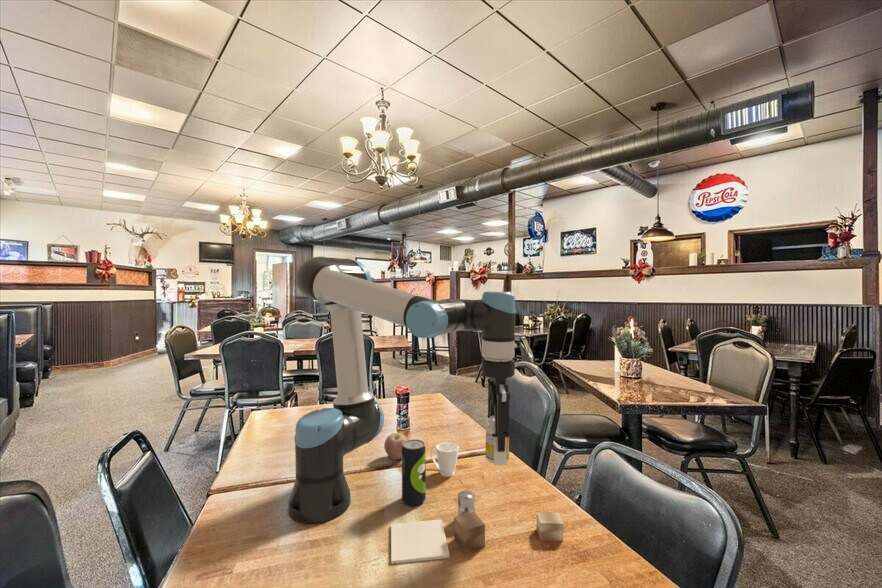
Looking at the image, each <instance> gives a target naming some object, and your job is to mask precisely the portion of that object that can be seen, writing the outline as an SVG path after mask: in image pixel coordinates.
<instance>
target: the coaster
mask: <svg viewBox="0 0 882 588" xmlns="http://www.w3.org/2000/svg"><path fill="white" fill-rule="evenodd" d="M444 528H445V527H444V522H443V519H432V520H421V521H420V520H419V521H410V522H397V523H396V522H395V523H390V544H391V545H390V546H391V547H390V552H391V553H390V554H391V555H390V557H391V558H390V560H391V561H390V563H391V565H394V563H396V564H404V563H413V562H424V561H425V562H426V561H435V560H443V559H449V558H451V557H450V555H451V554H450V550H449V546H448V542H447V541H448V539H447V538H446V533H445V529H444Z"/></svg>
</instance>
